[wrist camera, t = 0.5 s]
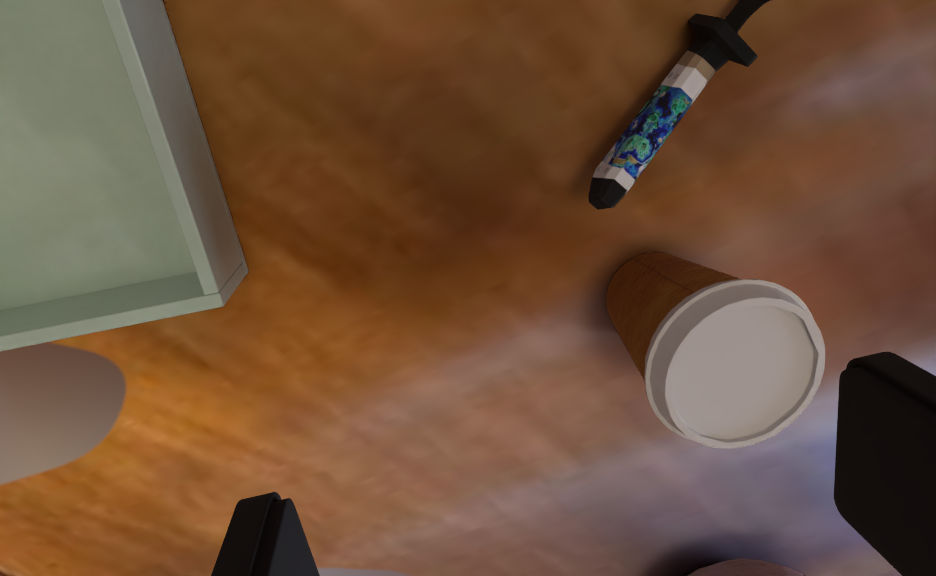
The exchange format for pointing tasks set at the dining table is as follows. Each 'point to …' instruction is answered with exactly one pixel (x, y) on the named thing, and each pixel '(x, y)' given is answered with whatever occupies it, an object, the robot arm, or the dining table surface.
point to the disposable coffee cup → (716, 348)
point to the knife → (672, 101)
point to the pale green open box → (103, 175)
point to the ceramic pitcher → (745, 569)
